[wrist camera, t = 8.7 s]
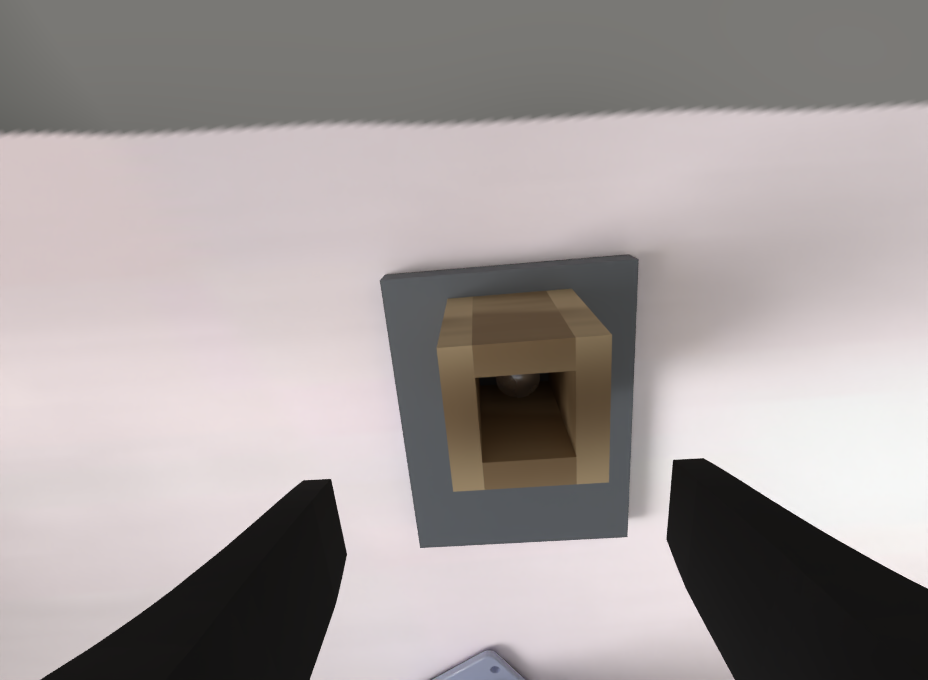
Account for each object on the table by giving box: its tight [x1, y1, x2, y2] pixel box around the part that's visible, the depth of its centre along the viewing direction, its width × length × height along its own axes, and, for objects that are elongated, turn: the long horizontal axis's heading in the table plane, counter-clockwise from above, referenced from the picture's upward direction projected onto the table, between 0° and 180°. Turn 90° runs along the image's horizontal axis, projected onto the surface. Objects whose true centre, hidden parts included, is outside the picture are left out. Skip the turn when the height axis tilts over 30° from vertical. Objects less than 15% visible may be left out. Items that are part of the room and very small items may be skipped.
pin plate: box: [380, 255, 638, 548], centre depth 18 cm, size 12×9×1 cm
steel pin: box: [496, 373, 540, 398], centre depth 16 cm, size 1×1×2 cm
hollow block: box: [437, 289, 612, 492], centre depth 15 cm, size 4×4×5 cm
